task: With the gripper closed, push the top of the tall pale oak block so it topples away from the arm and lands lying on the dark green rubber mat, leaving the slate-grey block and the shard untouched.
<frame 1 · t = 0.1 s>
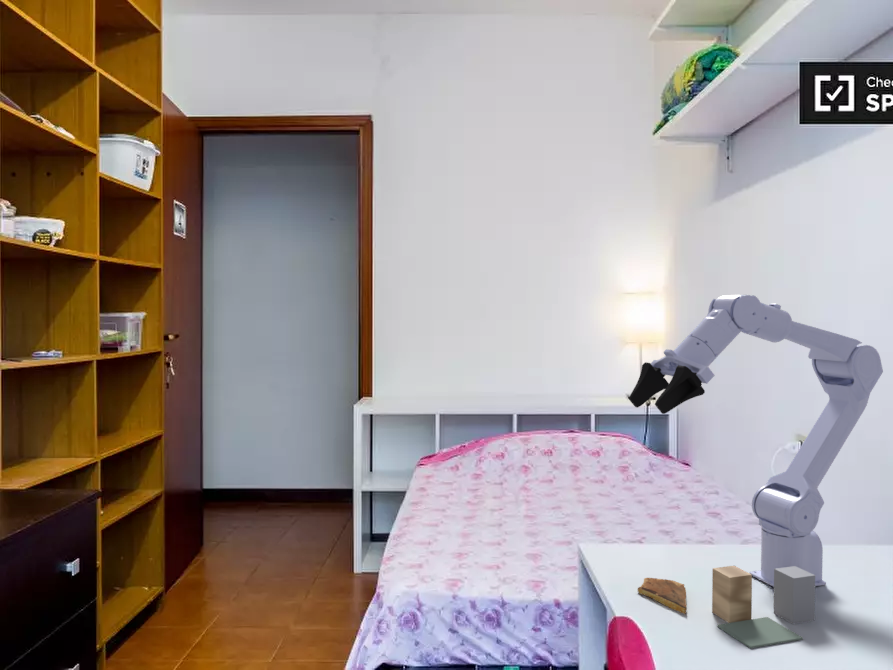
hand: (645, 406, 112), 32 cm above the table, tool tilted 50°, fingers open, 7 cm apart
oak block: (731, 616, 108), on the table
mat: (759, 633, 102), on the table
grey block: (793, 616, 108), on the table
shard: (673, 600, 115), on the table
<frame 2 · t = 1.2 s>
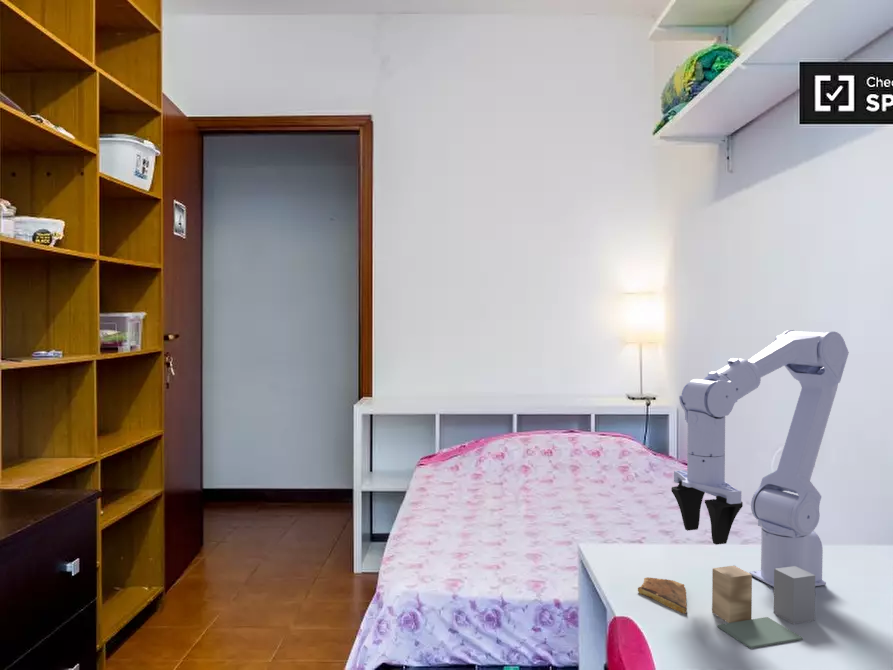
hand: (705, 536, 114), 10 cm above the table, tool pointing down, fingers open, 7 cm apart
nothing on the table moved.
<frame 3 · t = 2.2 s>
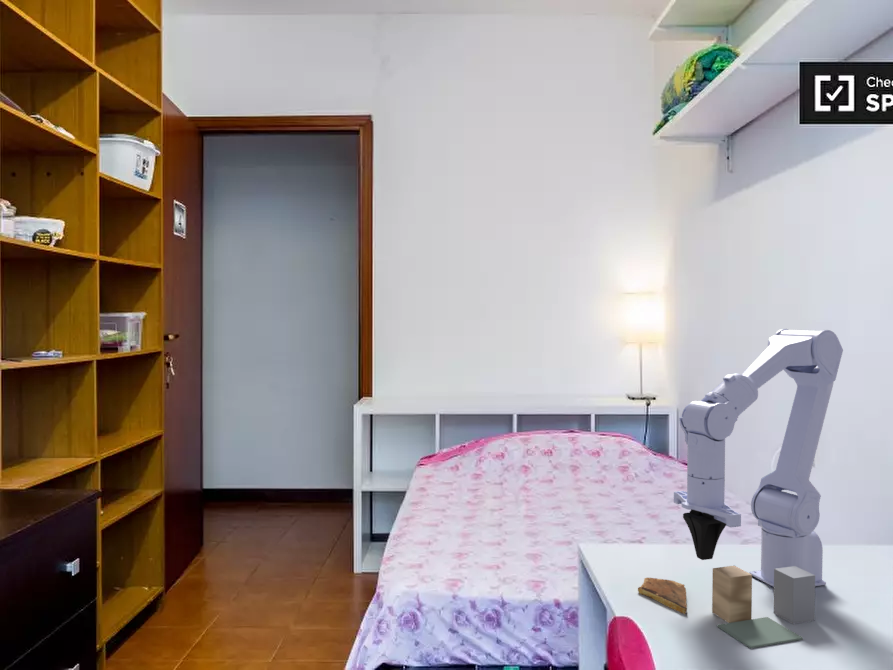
hand: (704, 558, 114), 7 cm above the table, tool pointing down, fingers closed
nothing on the table moved.
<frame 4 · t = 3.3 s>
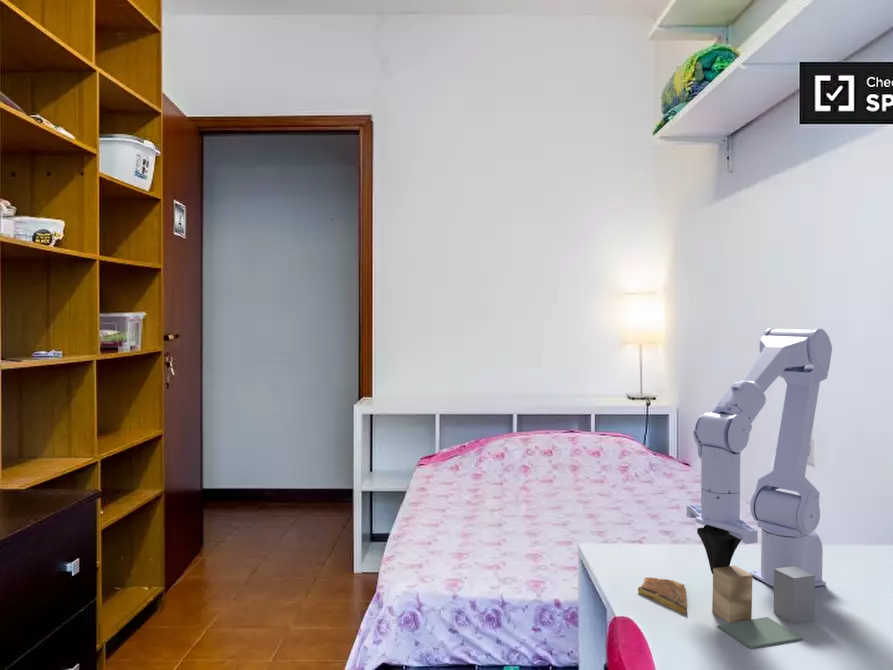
hand: (719, 574, 110), 5 cm above the table, tool pointing down, fingers closed
oak block: (731, 615, 108), on the table, touching gripper
everything else where it was.
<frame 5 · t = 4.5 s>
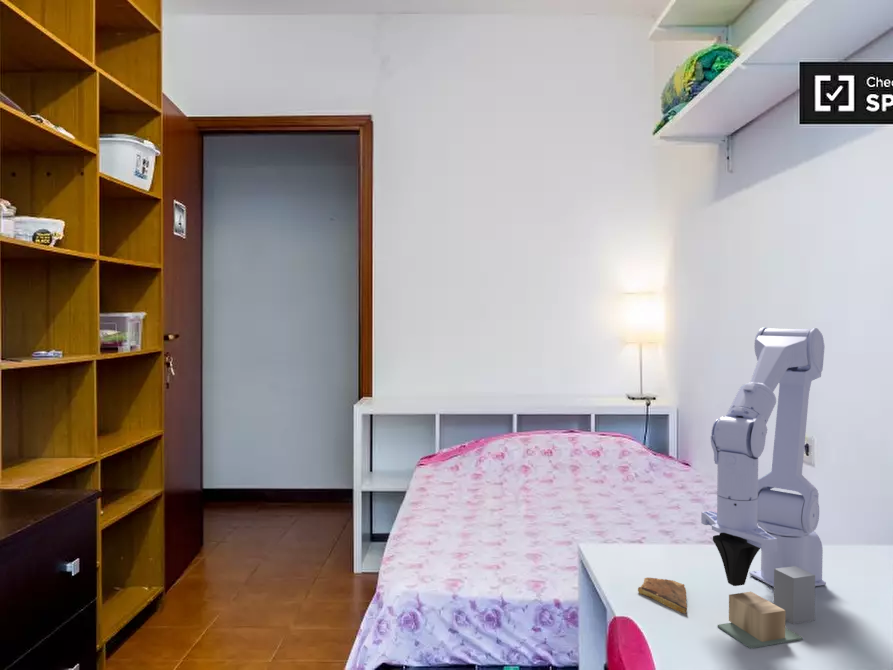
hand: (736, 583, 107), 5 cm above the table, tool pointing down, fingers closed
oak block: (740, 606, 106), point 2 cm above the table, tilted 90°, touching mat
everything else where it was.
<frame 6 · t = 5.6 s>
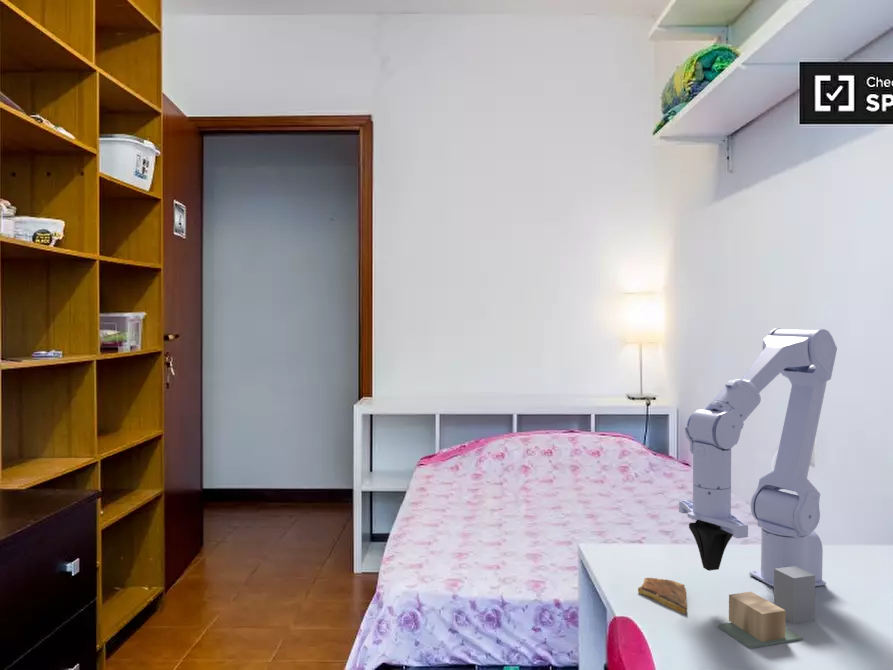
hand: (711, 568, 112), 6 cm above the table, tool pointing down, fingers closed
nothing on the table moved.
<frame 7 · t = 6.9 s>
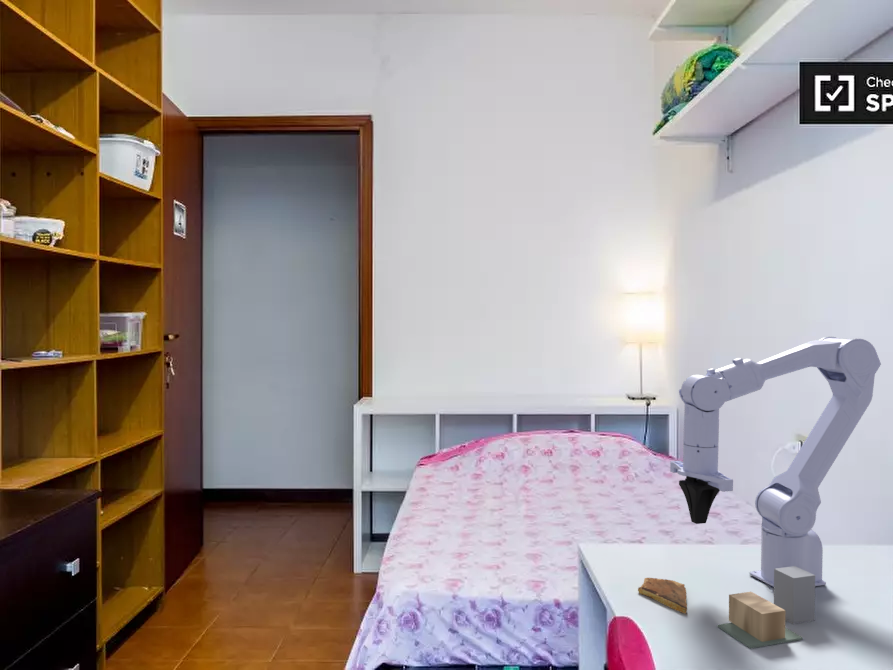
hand: (698, 522, 121), 10 cm above the table, tool pointing down, fingers closed
nothing on the table moved.
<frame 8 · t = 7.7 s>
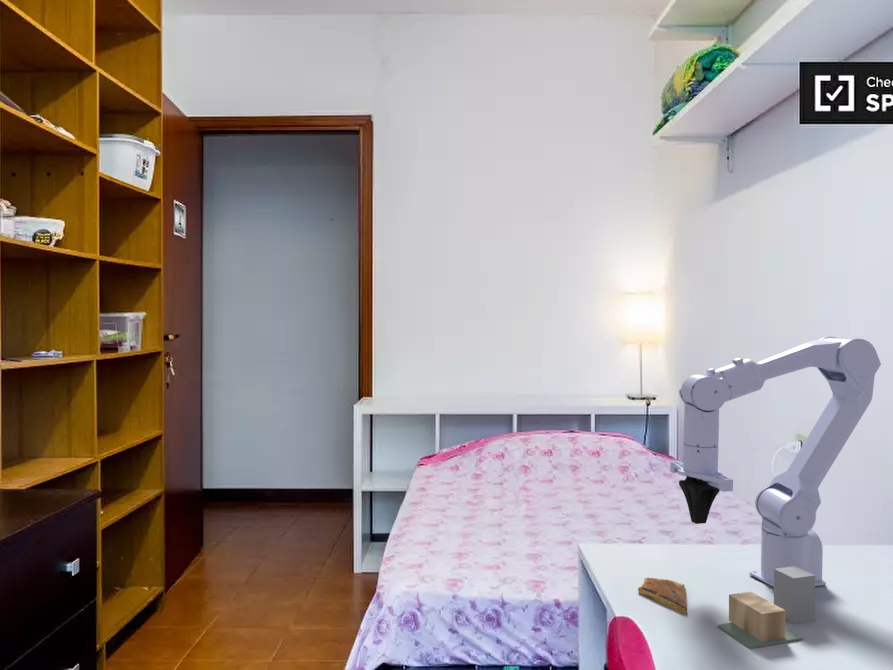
hand: (698, 522, 121), 10 cm above the table, tool pointing down, fingers closed
nothing on the table moved.
at the end: oak block tilted 90°; oak block inside the target area (1.1 cm from its centre), point 2.3 cm above the table; grey block moved 0.1 cm from its start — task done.
